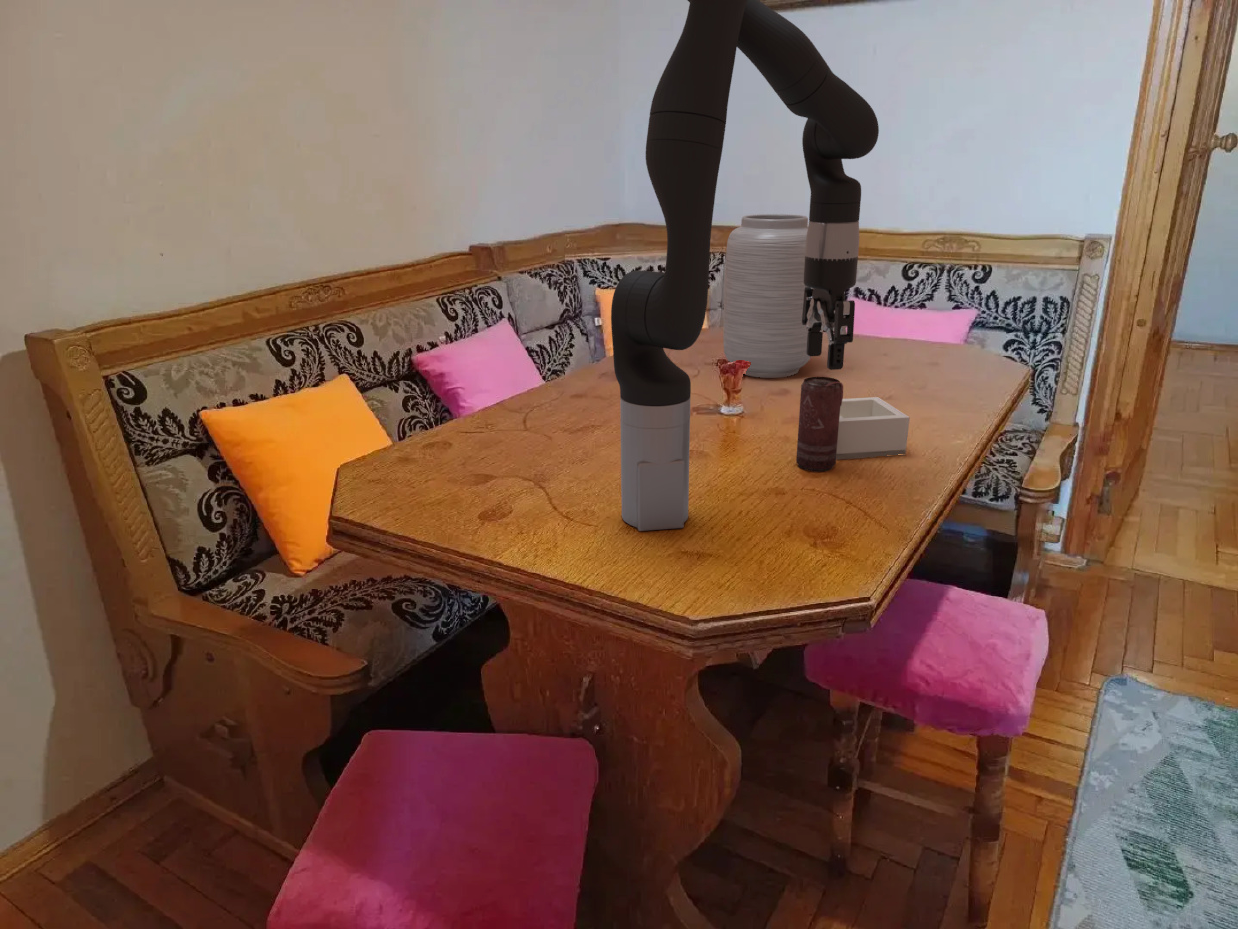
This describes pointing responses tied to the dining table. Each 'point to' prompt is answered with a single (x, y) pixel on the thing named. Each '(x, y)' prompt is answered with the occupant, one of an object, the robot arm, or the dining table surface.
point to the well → (870, 429)
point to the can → (819, 423)
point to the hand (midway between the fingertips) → (823, 362)
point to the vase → (766, 295)
